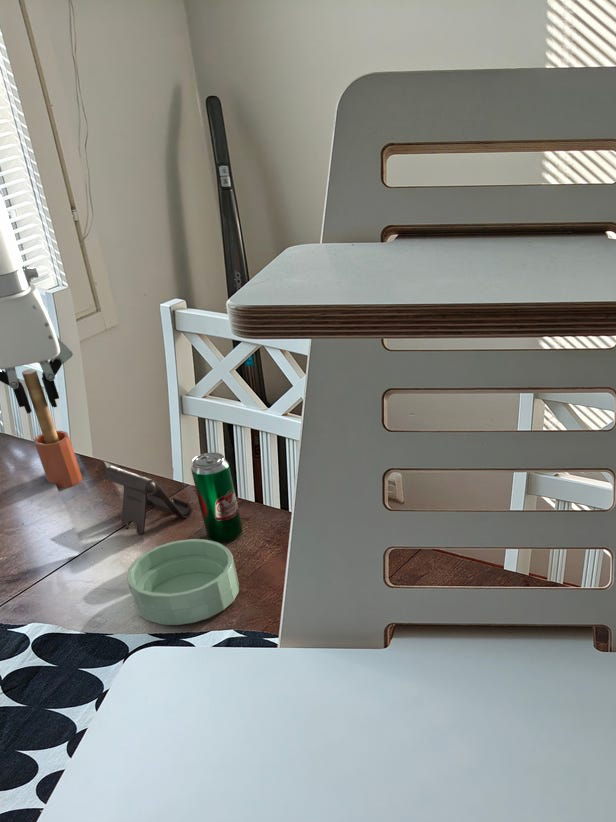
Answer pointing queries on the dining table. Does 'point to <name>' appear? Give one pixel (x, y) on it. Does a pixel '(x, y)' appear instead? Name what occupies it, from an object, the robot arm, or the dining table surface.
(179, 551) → the bowl
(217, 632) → the dining table surface
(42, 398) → the wooden dowel rod
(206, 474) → the soda can
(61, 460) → the crock
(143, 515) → the tablet stand
